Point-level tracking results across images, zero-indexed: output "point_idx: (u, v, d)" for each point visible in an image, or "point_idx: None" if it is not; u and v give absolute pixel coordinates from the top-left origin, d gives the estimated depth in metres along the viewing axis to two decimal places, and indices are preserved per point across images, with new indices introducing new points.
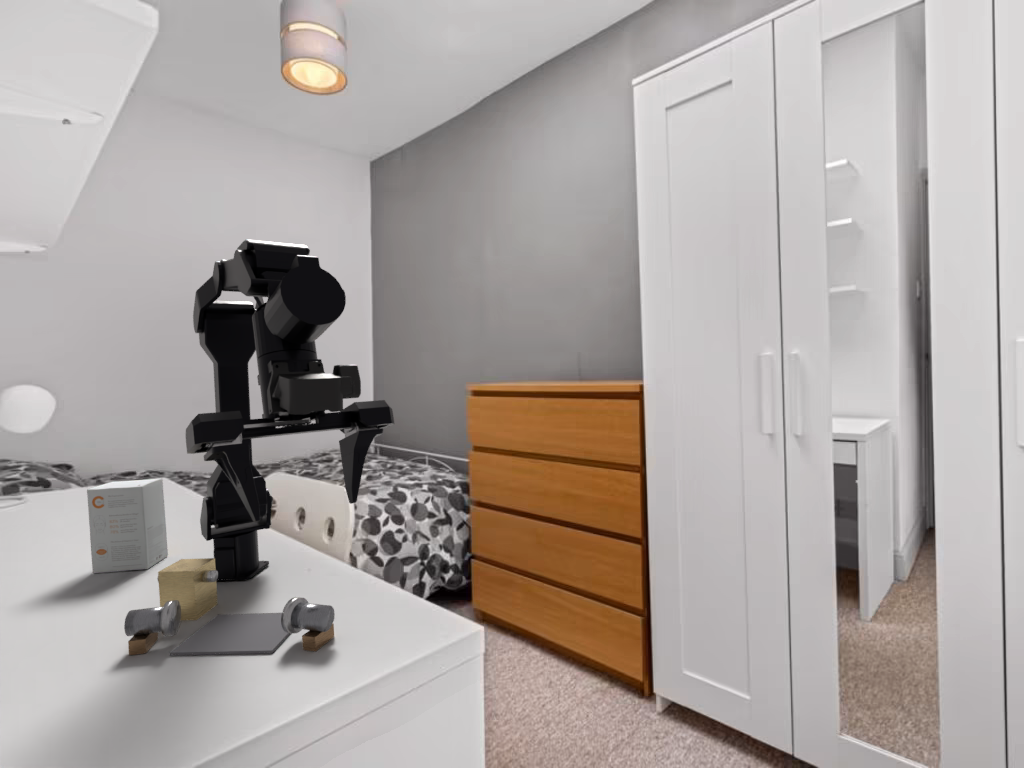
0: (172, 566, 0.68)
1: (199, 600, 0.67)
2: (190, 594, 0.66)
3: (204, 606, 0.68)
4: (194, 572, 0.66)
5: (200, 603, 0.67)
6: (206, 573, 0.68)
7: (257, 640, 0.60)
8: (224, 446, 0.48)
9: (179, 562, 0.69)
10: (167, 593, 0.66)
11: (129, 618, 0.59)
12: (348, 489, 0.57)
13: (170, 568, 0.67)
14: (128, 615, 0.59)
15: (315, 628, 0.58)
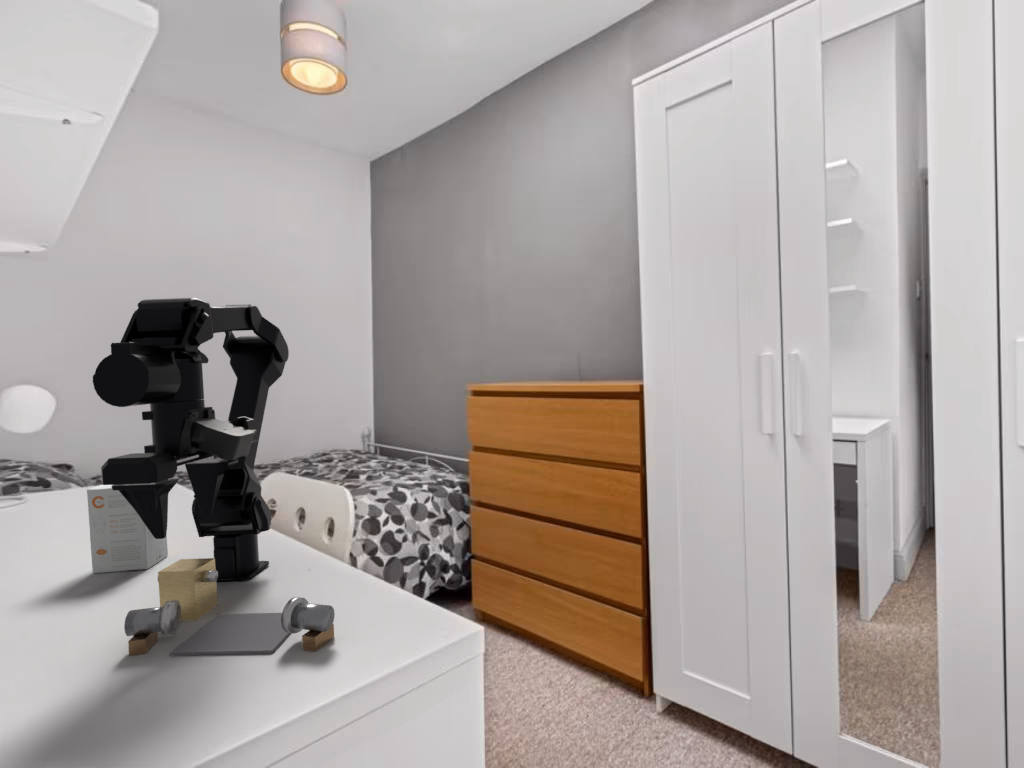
0: (172, 566, 0.68)
1: (199, 600, 0.67)
2: (190, 594, 0.66)
3: (204, 606, 0.68)
4: (194, 572, 0.66)
5: (200, 603, 0.67)
6: (206, 573, 0.68)
7: (257, 640, 0.60)
8: (167, 483, 0.61)
9: (179, 562, 0.69)
10: (167, 593, 0.66)
11: (129, 618, 0.59)
12: (204, 505, 0.73)
13: (170, 568, 0.67)
14: (128, 615, 0.59)
15: (315, 628, 0.58)
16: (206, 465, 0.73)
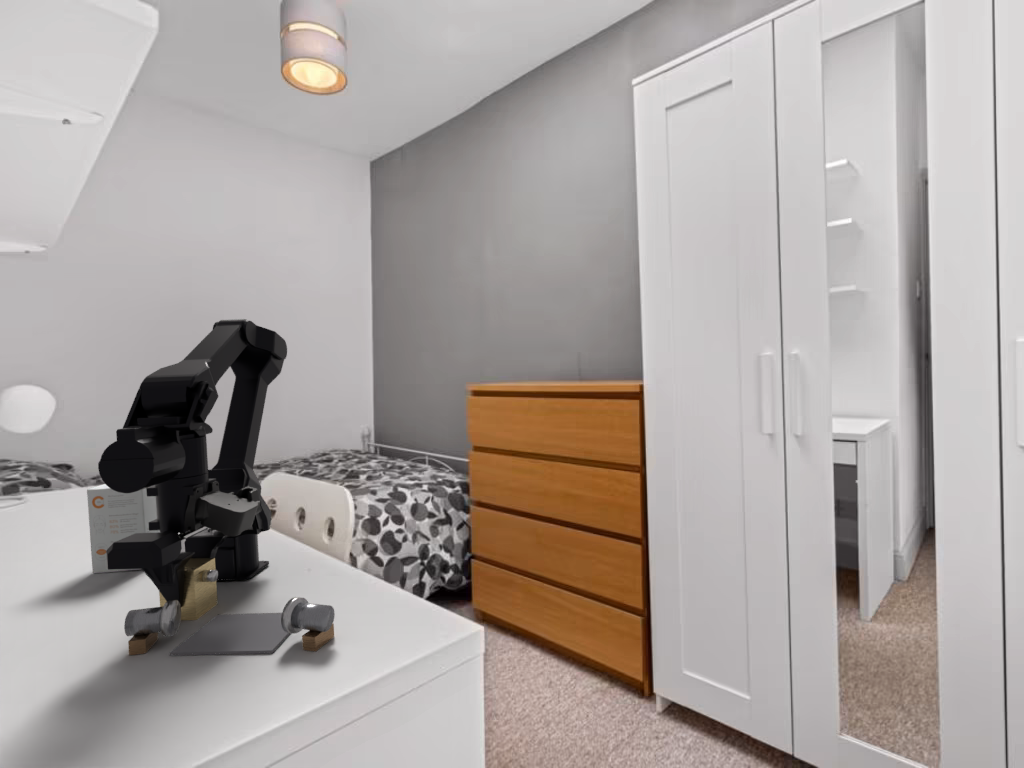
0: None
1: (199, 600, 0.67)
2: (190, 593, 0.66)
3: (204, 606, 0.68)
4: (194, 572, 0.66)
5: (200, 603, 0.67)
6: (206, 572, 0.68)
7: (257, 640, 0.60)
8: (184, 558, 0.63)
9: None
10: None
11: (129, 618, 0.59)
12: None
13: None
14: (128, 615, 0.59)
15: (315, 628, 0.58)
16: (200, 539, 0.71)
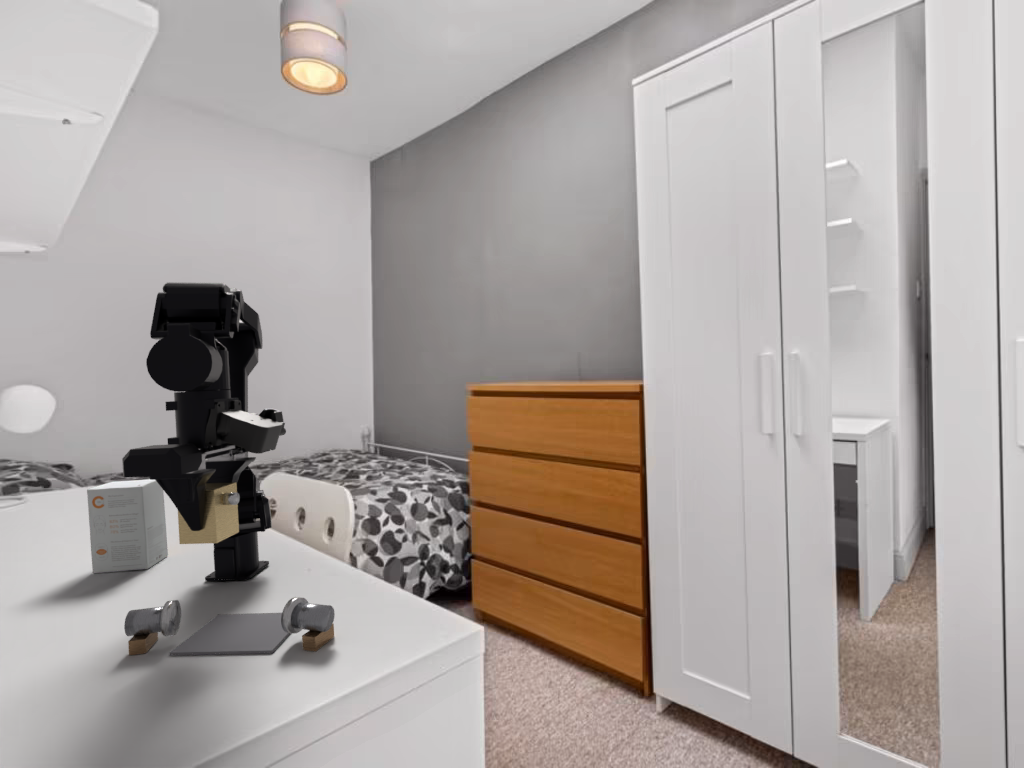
0: None
1: (220, 523, 0.63)
2: (210, 515, 0.62)
3: (225, 530, 0.64)
4: (215, 492, 0.62)
5: (221, 526, 0.63)
6: (227, 494, 0.64)
7: (257, 640, 0.60)
8: (204, 472, 0.59)
9: None
10: None
11: (129, 618, 0.59)
12: None
13: None
14: (128, 615, 0.59)
15: (315, 628, 0.58)
16: (221, 463, 0.67)
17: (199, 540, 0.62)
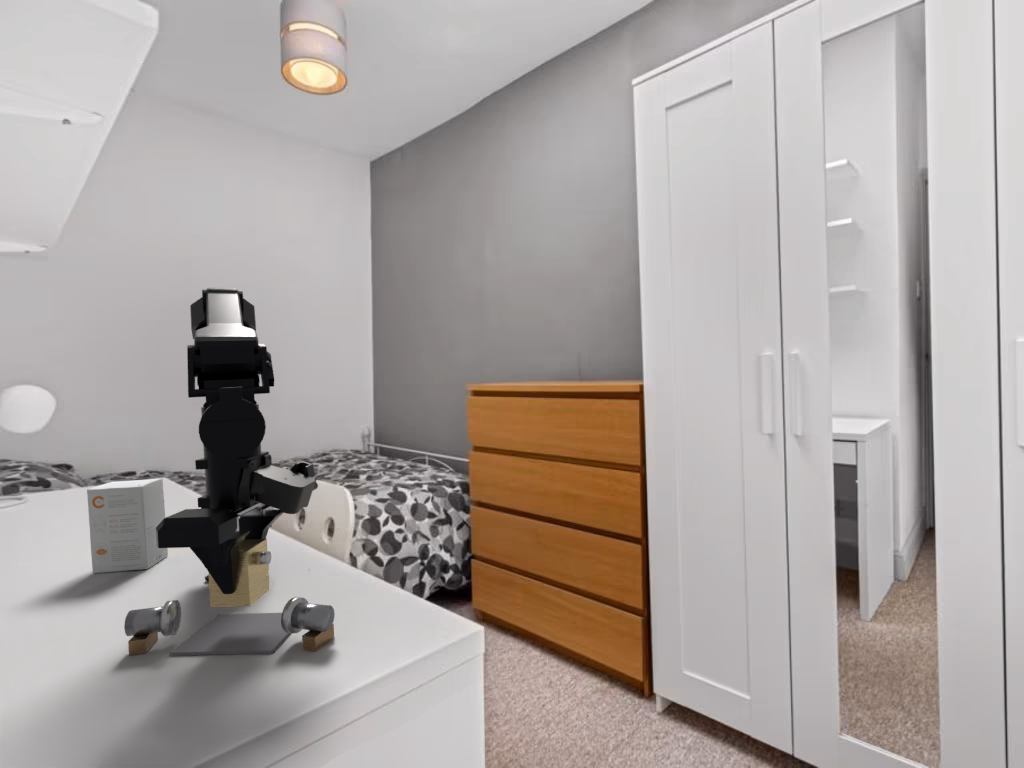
0: None
1: (253, 584, 0.61)
2: (242, 577, 0.60)
3: (257, 591, 0.61)
4: (247, 553, 0.60)
5: (253, 588, 0.61)
6: (260, 554, 0.61)
7: (257, 640, 0.60)
8: (239, 537, 0.57)
9: None
10: None
11: (129, 618, 0.59)
12: None
13: None
14: (128, 615, 0.59)
15: (315, 628, 0.58)
16: (250, 518, 0.65)
17: (231, 603, 0.60)
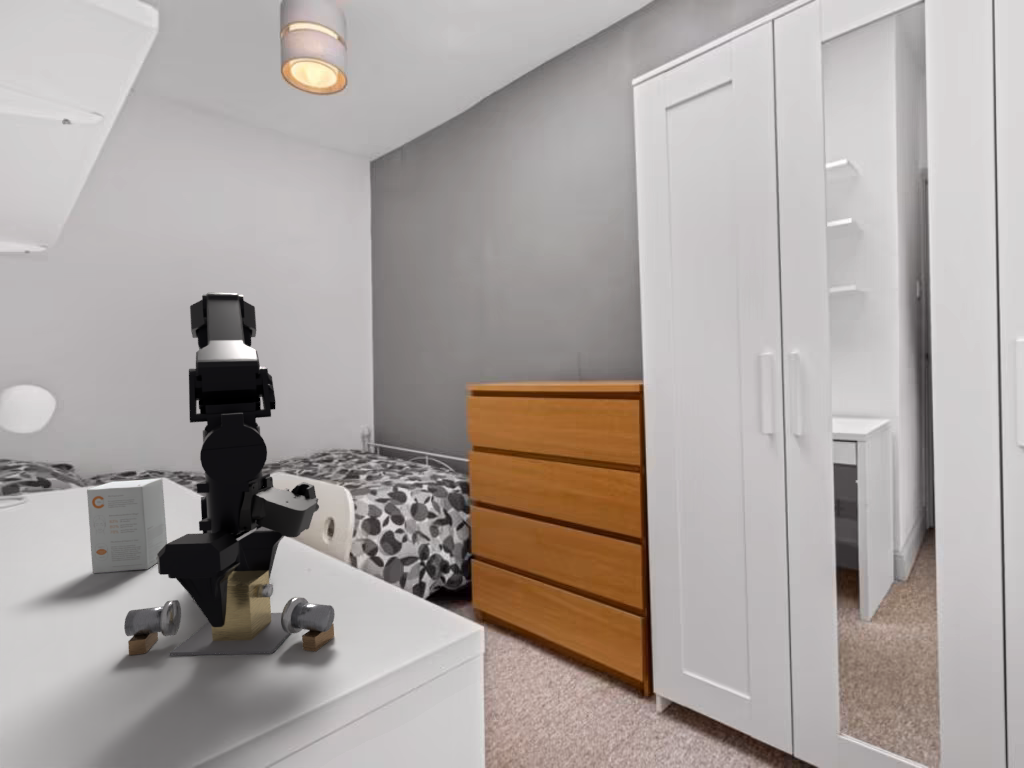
0: None
1: (254, 618, 0.61)
2: (244, 611, 0.60)
3: (259, 624, 0.62)
4: (249, 587, 0.60)
5: (255, 621, 0.61)
6: (261, 587, 0.61)
7: (257, 640, 0.60)
8: (229, 569, 0.55)
9: (229, 575, 0.63)
10: None
11: (129, 618, 0.59)
12: None
13: None
14: (128, 615, 0.59)
15: (315, 628, 0.58)
16: (260, 534, 0.67)
17: (233, 637, 0.60)
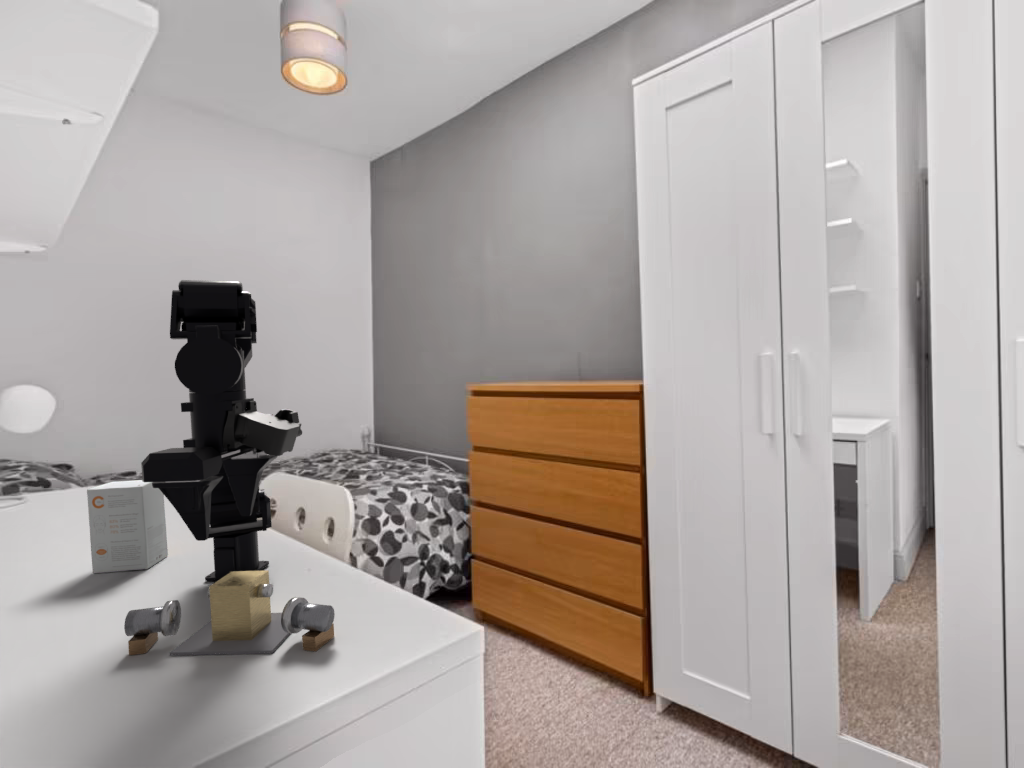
0: (223, 580, 0.62)
1: (254, 618, 0.61)
2: (244, 611, 0.60)
3: (259, 624, 0.62)
4: (249, 587, 0.60)
5: (255, 621, 0.61)
6: (261, 587, 0.61)
7: (257, 640, 0.60)
8: (212, 480, 0.56)
9: (229, 575, 0.63)
10: (219, 610, 0.60)
11: (129, 618, 0.59)
12: (243, 504, 0.68)
13: (222, 582, 0.61)
14: (128, 615, 0.59)
15: (315, 628, 0.58)
16: (245, 461, 0.68)
17: (233, 637, 0.60)
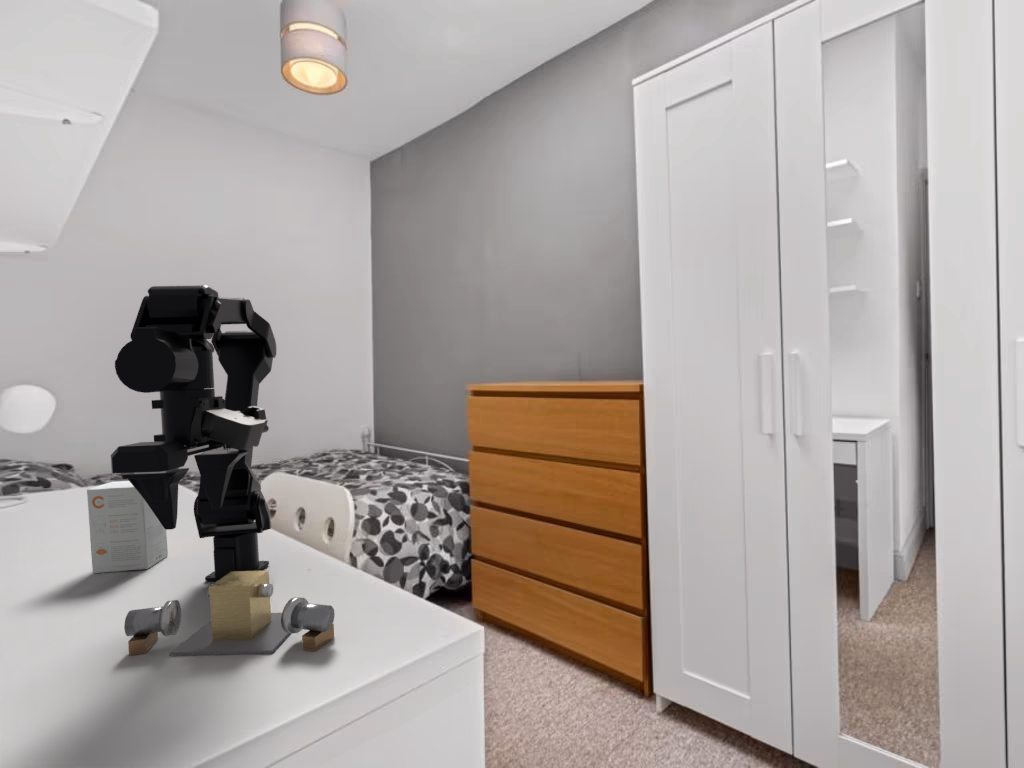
0: (223, 580, 0.62)
1: (254, 618, 0.61)
2: (244, 611, 0.60)
3: (259, 624, 0.62)
4: (249, 587, 0.60)
5: (255, 621, 0.61)
6: (261, 587, 0.61)
7: (257, 640, 0.60)
8: (177, 472, 0.60)
9: (229, 575, 0.63)
10: (219, 610, 0.60)
11: (129, 618, 0.59)
12: (213, 497, 0.71)
13: (222, 582, 0.61)
14: (128, 615, 0.59)
15: (315, 628, 0.58)
16: (216, 456, 0.72)
17: (233, 637, 0.60)
